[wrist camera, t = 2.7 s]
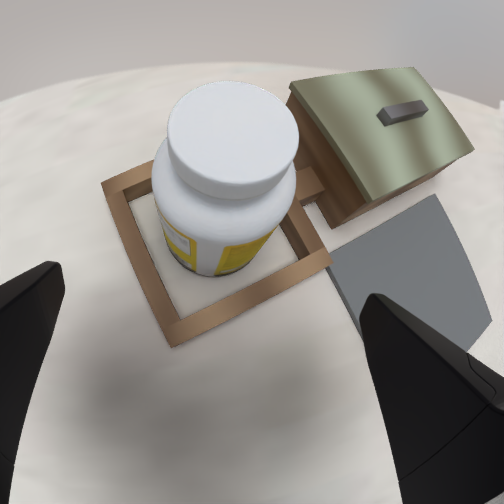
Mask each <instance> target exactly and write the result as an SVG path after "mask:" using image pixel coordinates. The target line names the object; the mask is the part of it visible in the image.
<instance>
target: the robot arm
mask: <svg viewBox="0 0 504 504" xmlns="http://www.w3.org/2000/svg"><path fill="white" fill-rule="evenodd" d="M64 294H65V284H64V279H63V273H62V268H61V265H60V263H58V262H53V261H46V262H44V263H42V264H40V265H38V266H36V267H34V268H32V269H30V270H28V271H26V272H24V273H22V274H20V275H19V276H17V277H15V278H13V279H11V280H9V281H7V282H6V283H4V284H2V285H0V504H9V496H10V489H11V483H12V477H13V471H14V464H15V460H16V455H17V450H18V445H19V441H20V437H21V433H22V429H23V425H24V421H25V417H26V414H27V410H28V406H29V403H30V400H31V396H32V393H33V390H34V387H35V383H36V380H37V377H38V374H39V371H40V368H41V366H42V363H43V360H44V357H45V354H46V352H47V349H48V346H49V344H50V341H51V338H52V335H53V331H54V328H55V324H56V321H57V317H58V314H59V310H60V307H61V304H62V301H63V297H64ZM359 323H360V328H361V332H362V337H363V342H364V347H365V352H366V357H367V362H368V366H369V369H370V373H371V376H372V380H373V383H374V386H375V390H376V393H377V397H378V401H379V404H380V408H381V412H382V415H383V419H384V423H385V427H386V431H387V435H388V439H389V443H390V447H391V451H392V455H393V459H394V464H395V468H396V473H397V477H398V481H399V482H398V483H399V487H400V492H401V497H402V502H403V504H504V377H502V376H501V375H499V374H498V373H496V372H495V371H493V370H492V369H490V368H489V367H487V366H486V365H484V364H483V363H482V362H480V361H479V360H477V359H476V358H474V357H473V356H472V355H470V354H469V353H466V351H465V350H463V349H462V348H460V347H459V346H458V345H456V344H455V343H453V342H452V341H451V340H449V339H448V338H446V337H445V336H444V335H442V334H441V333H439V332H438V331H436V330H435V329H434V328H432V327H431V326H429V325H428V324H426V323H425V322H423V321H422V320H421V319H419V318H418V317H416V316H415V315H413V314H412V313H410V312H409V311H407V310H406V309H404V308H403V307H402V306H400V305H399V304H397V303H396V302H394V301H393V300H391V299H390V298H388V297H387V296H385V295H384V294H381V293H371V294H369V296H368V297H367V299H366V302H365V304H364V306H363V308H362V310H361V312H360V316H359Z"/></svg>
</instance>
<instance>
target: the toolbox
mask: <svg viewBox="0 0 504 504" xmlns="http://www.w3.org/2000/svg"><path fill="white" fill-rule="evenodd" d="M289 89H290V90H291V91H292V92H291V94H290V96H289V99H288V101H287V103H286V106H287V107H288V109H289V110H290V111H291V113H292V115H293V116H294V119H295V121H296V123H297V126H298V131H299V144H298V149H297V152H296V155H295V157H294V159H293V163H294V167H295V169H296V170H297V172H296V189H295V194H294V198H293V201H292V204H291V206H290V208H289V210H288V212H287V213H286V215H285V216H284V218H283V219H282V221H281V222H280V223H279V224H280V226H281V228H282V229H283V231H284V233H285V235H286V237H287V238H288V240H289V242H290V244H291V246H292V248H293V249H294V251H295V253H296V255H297V257H298V259H299V261H297V262H295V263H293V264H291V265H289V266H287V267H285V268H284V269H282V270H280V271H278V272H276V273H274V274H272V275H270V276H268V277H266V278H264V279H262V280H260V281H258V282H256V283H254V284H252V285H250V286H248V287H247V288H245V289H243V290H241V291H239V292H237V293H235V294H233V295H231V296H229V297H227V298H225V299H223V300H221V301H219V302H217V303H215V304H213V305H211V306H209V307H207V308H205V309H203V310H201V311H198V312H196V313H194V314H192V315H190V316H188V317H186V318H184V319H182V320H180V318H179V316H178V314H177V312H176V310H175V308H174V306H173V304H172V302H171V300H170V298H169V296H168V294H167V292H166V289H165V287H164V285H163V283H162V281H161V279H160V277H159V274H158V272H157V270H156V268H155V266H154V263H153V261H152V259H151V257H150V254H149V252H148V250H147V248H146V245H145V243H144V241H143V238H142V236H141V234H140V231H139V229H138V227H137V224H136V222H135V219H134V217H133V214H132V212H131V209H130V207H129V204H128V202H129V201H132V200H134V199H136V198H138V197H141V196H143V195H145V194H147V193H150V192H152V191H153V189H152V180H151V177H152V167H153V162H154V160H152V161H149V162H147V163H144V164H142V165H140V166H137V167H135V168H133V169H130V170H128V171H126V172H123V173H121V174H119V175H117V176H114V177H112V178H110V179H108V180H106V181H104V182H101V185H102V188H103V191H104V194H105V197H106V200H107V203H108V205H109V208H110V211H111V214H112V216H113V219H114V222H115V224H116V227H117V229H118V232H119V235H120V237H121V240H122V242H123V245H124V247H125V250H126V252H127V254H128V257H129V259H130V262H131V264H132V266H133V269H134V271H135V273H136V276H137V278H138V280H139V282H140V285H141V287H142V289H143V291H144V294H145V296H146V298H147V300H148V302H149V304H150V306H151V309H152V311H153V313H154V315H155V317H156V319H157V321H158V323H159V325H160V327H161V329H162V331H163V333H164V335H165V337H166V339H167V341H168V343H169V345H170V347H171V348H173V347H175V346H177V345H179V344H181V343H183V342H185V341H187V340H189V339H191V338H193V337H195V336H197V335H199V334H201V333H203V332H205V331H207V330H209V329H211V328H213V327H215V326H217V325H219V324H221V323H223V322H225V321H227V320H229V319H231V318H233V317H235V316H237V315H239V314H241V313H243V312H245V311H246V310H248V309H250V308H252V307H254V306H256V305H258V304H260V303H262V302H264V301H265V300H267V299H269V298H271V297H273V296H275V295H277V294H279V293H280V292H282V291H284V290H286V289H288V288H290V287H291V286H293V285H295V284H297V283H299V282H301V281H302V280H304V279H306V278H308V277H310V276H311V275H313V274H315V273H317V272H319V271H320V270H322V269H324V268H326V267H327V266H329V265H331V264H333V263H334V262H333V261H332V259H331V257H330V255H329V253H328V251H327V250H326V248H325V246H324V244H323V242H322V241H321V239H320V237H319V235H318V233H317V232H316V230H315V228H314V226H313V225H312V223H311V221H310V219H309V218H308V216H307V214H306V212H305V211H304V209H303V207H302V206H305V205H307V204H309V203H311V202H314V201H315V202H316V203H317V205H318V207H319V208H320V210H321V212H322V213H323V215H324V217H325V219H326V220H327V222H328V224H329V226H330V227H331V229H334V228H336V227H338V226H340V225H342V224H344V223H346V222H348V221H349V220H351V219H353V218H355V217H357V216H359V215H361V214H363V213H365V212H367V211H369V210H371V209H373V208H375V207H377V206H379V205H380V204H382V203H384V202H386V201H388V200H390V199H392V198H394V197H396V196H398V195H400V194H402V193H404V192H405V191H407V190H409V189H411V188H413V187H415V186H417V185H419V184H421V183H423V182H424V181H426V180H428V179H430V178H432V177H434V176H435V175H437V174H438V173H439V172H441V171H442V170H444V169H445V168H446V167H448V166H449V165H450V164H452V163H453V162H454V161H456V160H457V159H459V158H461V157H463V156H465V155H467V154H469V153H471V152H472V151H473V150H475V149H474V147H473V146H472V144H471V142H470V141H469V139H468V138H467V136H466V135H465V133H464V132H463V130H462V129H461V127H460V126H459V124H458V123H457V121H456V120H455V119H454V117H453V116H452V114H451V113H450V112H449V110H448V109H447V107H446V106H445V105H444V103H443V102H442V101H441V100H440V98H439V97H438V96H437V94H436V93H435V92H434V91H433V89H432V88H431V87H430V86H429V84H428V83H427V82H426V81H425V79H424V78H423V77H422V76H421V75H420V74H419V72H418V71H417V70H416V69H415V68H414V67H408V68H392V69H378V70H368V71H358V72H350V73H342V74H334V75H328V76H321V77H315V78H309V79H303V80H298V81H293V82H291V83H290V86H289Z"/></svg>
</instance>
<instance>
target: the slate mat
mask: <svg viewBox="0 0 504 504" xmlns="http://www.w3.org/2000/svg"><path fill="white" fill-rule="evenodd" d="M329 255H330V257H331V259H332V261H333V262H334V263H333V264H331V265H329V266H327V267H326V270H327V272H328V273H329V275H330V277H331V279H332V281H333V283H334V285H335V287H336V288H337V290H338V292H339V294H340V296H341V298H342V300H343V302H344V304H345V306H346V308H347V310H348V312H349V313H350V315H351V317H352V319H353V321H354V323H355V325H356V327H357V329H358V331H359V333H360V335H361V337H362V332H361V328H360V323H359V316H360V312H361V310H362V308H363V306H364V304H365V302H366V299H367V297H368V296H369V294H371V293H381V294H384V295H385V296H387V297H388V298H390V299H391V300H393V301H394V302H396V303H397V304H399V305H400V306H402V307H403V308H404V309H406V310H407V311H409V312H410V313H412V314H413V315H415V316H416V317H418V318H419V319H421V320H422V321H423V322H425V323H426V324H428V325H429V326H431V327H432V328H434V329H435V330H436V331H438V332H439V333H441V334H442V335H444V336H445V337H446V338H448V339H449V340H451V341H452V342H453V343H455V344H456V345H458V346H459V347H460V348H462V349H463V350H465V351H466V352H467V351H468V350H469V349H470V348H471V346H472V345H473V344H474V343H475V342H476V340H477V339H478V338H479V337H480V336H481V334H482V333H483V332H484V331H485V329H486V328H487V327H488V326H489V324H490V323H491V322H492V318H491V315H490V312H489V310H488V307H487V304H486V301H485V299H484V296H483V293H482V291H481V288H480V286H479V283H478V281H477V278H476V276H475V273H474V271H473V269H472V266H471V264H470V262H469V260H468V257H467V255H466V253H465V251H464V249H463V246H462V244H461V242H460V240H459V238H458V236H457V234H456V232H455V230H454V228H453V226H452V224H451V222H450V220H449V218H448V216H447V214H446V213H445V211H444V209H443V207H442V205H441V203H440V202H439V200H438V198H437V196H436V194H433V195H431V196H430V197H428V198H426V199H424V200H423V201H421V202H419V203H418V204H416V205H414V206H413V207H411V208H409V209H408V210H406V211H404V212H402V213H401V214H399V215H397V216H395V217H394V218H392V219H390V220H389V221H387V222H385V223H383V224H382V225H380V226H378V227H376V228H375V229H373V230H371V231H369V232H367V233H366V234H364V235H362V236H360V237H359V238H357V239H355V240H353V241H351V242H350V243H348V244H346V245H344V246H342V247H341V248H339V249H337V250H335V251H333V252H332V253H330V254H329ZM362 339H363V337H362Z"/></svg>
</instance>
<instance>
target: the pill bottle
mask: <svg viewBox="0 0 504 504" xmlns="http://www.w3.org/2000/svg"><path fill="white" fill-rule="evenodd" d="M298 144H299V131H298V126H297V123H296V121H295V119H294V116H293V115H292V113H291V111H290V110H289V109H288V107H287V106H286V105H285V104H284V103H283V102H282V101H281V100H280V99H279V98H277V97H276V96H275V95H273V94H272V93H270V92H268V91H267V90H265V89H263V88H260V87H258V86H255V85H252V84H248V83H244V82H237V81H219V82H213V83H209V84H206V85H203V86H200V87H197V88H195V89H193V90H192V91H190V92H189V93H187V94H186V95H184V96H183V97H182V98H181V99H180V100H179V101H178V102H177V104H176V105H175V106H174V108H173V110H172V112H171V114H170V117H169V120H168V125H167V137H166V139H165V140H164V141H163V142H162V144H161V146H160V147H159V149H158V151H157V153H156V156H155V159H154V162H153V167H152V177H151V180H152V189H153V194H154V199H155V203H156V206H157V210H158V214H159V217H160V221H161V225H162V228H163V231H164V235H165V239H166V242H167V245H168V247H169V249H170V251H171V253H172V254H173V256H174V257H175V258H176V259H177V261H178V262H179V263H180V264H182V265H183V266H184V267H185V268H187V269H189V270H190V271H192V272H195V273H197V274H200V275H204V276H213V277H214V276H224V275H228V274H231V273H234V272H236V271H238V270H240V269H241V268H243V267H244V266H246V265H247V264H248V263H249V262H250V261H251V260H252V259H253V257H254V256H255V255H256V254H257V252H258V251H259V250H260V248H261V247H262V246H263V244H264V243H265V242H266V241H267V239H268V238H269V237H270V235H271V234H272V233H273V231H274V230H275V229H276V227H277V226H278V225H279V223H280V222H281V221H282V219H283V218H284V216H285V215H286V213H287V212H288V210H289V208H290V206H291V204H292V201H293V198H294V194H295V189H296V172H295V167H294V163H293V159H294V157H295V155H296V152H297V149H298Z"/></svg>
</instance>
